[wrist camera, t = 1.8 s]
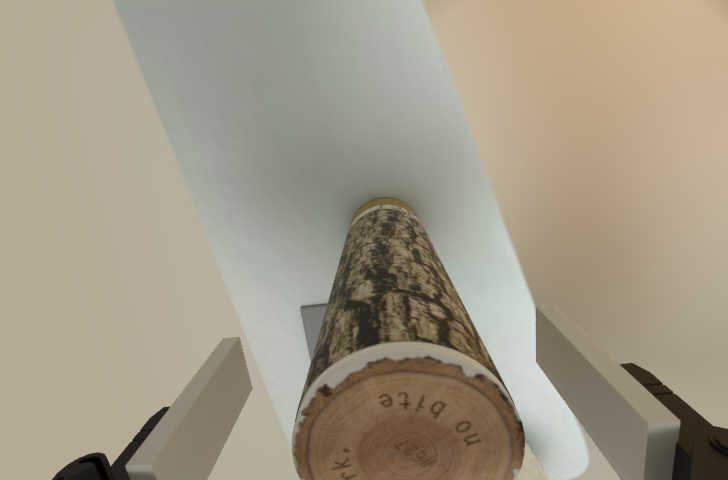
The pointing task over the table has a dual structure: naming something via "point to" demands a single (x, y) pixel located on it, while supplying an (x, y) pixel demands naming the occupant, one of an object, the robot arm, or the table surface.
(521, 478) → the white cup
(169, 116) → the table surface
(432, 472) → the brown bark cylinder
